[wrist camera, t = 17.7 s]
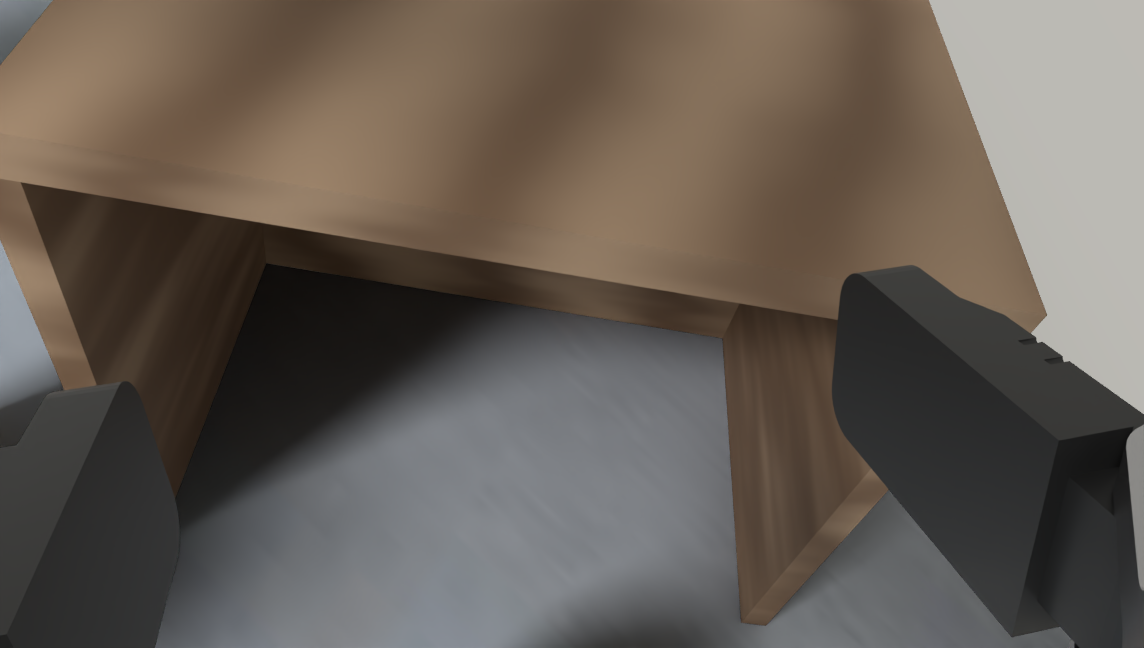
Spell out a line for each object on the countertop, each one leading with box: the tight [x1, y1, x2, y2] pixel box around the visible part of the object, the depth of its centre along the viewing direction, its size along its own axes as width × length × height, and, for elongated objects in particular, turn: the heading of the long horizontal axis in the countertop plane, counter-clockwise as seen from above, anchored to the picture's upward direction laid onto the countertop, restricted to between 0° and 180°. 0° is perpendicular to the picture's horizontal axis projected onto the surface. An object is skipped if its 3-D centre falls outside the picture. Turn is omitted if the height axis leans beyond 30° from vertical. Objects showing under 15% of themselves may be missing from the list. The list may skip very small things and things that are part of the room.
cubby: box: [0, 0, 1047, 626], centre depth 29 cm, size 22×14×17 cm, turn 87°
